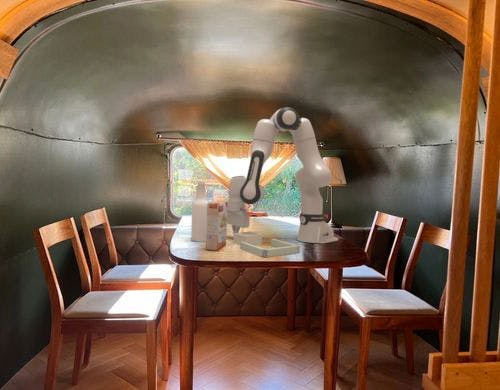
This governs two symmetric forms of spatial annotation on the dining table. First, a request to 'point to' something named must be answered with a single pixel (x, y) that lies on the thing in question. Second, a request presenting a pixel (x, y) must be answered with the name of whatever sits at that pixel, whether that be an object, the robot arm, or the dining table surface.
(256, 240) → the carton
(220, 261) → the dining table surface
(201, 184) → the alcohol
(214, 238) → the cracker box
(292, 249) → the u-shaped frame
